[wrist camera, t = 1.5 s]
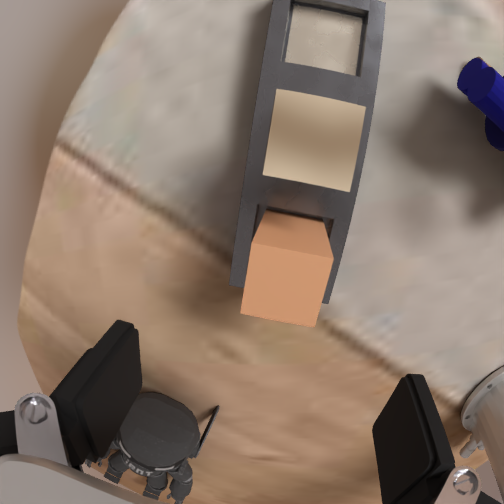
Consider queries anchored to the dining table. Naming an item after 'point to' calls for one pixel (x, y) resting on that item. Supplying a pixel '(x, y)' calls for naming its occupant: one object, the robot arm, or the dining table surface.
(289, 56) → the rail
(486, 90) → the toy
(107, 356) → the robot arm
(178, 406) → the robot
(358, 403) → the dining table surface
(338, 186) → the beech block
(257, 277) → the terracotta block
